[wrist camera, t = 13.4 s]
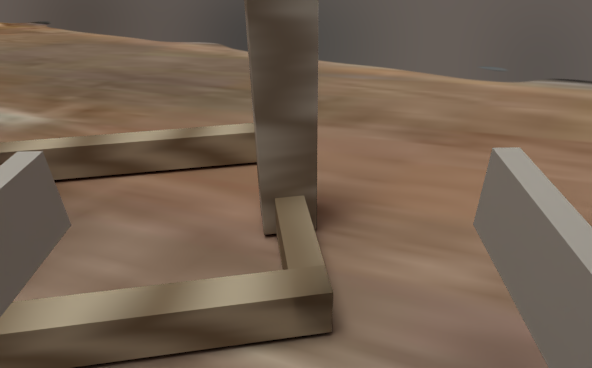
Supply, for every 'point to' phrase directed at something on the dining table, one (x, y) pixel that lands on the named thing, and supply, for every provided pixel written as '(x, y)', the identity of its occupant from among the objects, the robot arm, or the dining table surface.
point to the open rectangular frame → (189, 154)
